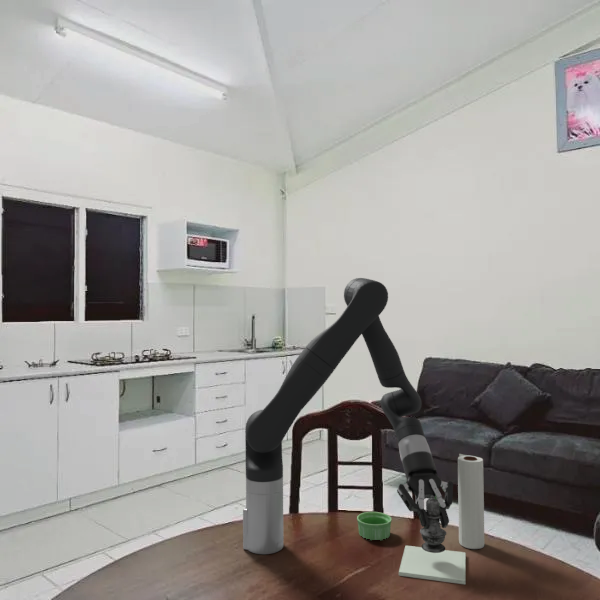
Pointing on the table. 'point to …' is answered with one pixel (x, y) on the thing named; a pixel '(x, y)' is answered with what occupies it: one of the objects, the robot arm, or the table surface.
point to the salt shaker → (433, 528)
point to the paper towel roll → (471, 501)
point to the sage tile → (433, 565)
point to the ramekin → (374, 525)
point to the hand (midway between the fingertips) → (436, 526)
